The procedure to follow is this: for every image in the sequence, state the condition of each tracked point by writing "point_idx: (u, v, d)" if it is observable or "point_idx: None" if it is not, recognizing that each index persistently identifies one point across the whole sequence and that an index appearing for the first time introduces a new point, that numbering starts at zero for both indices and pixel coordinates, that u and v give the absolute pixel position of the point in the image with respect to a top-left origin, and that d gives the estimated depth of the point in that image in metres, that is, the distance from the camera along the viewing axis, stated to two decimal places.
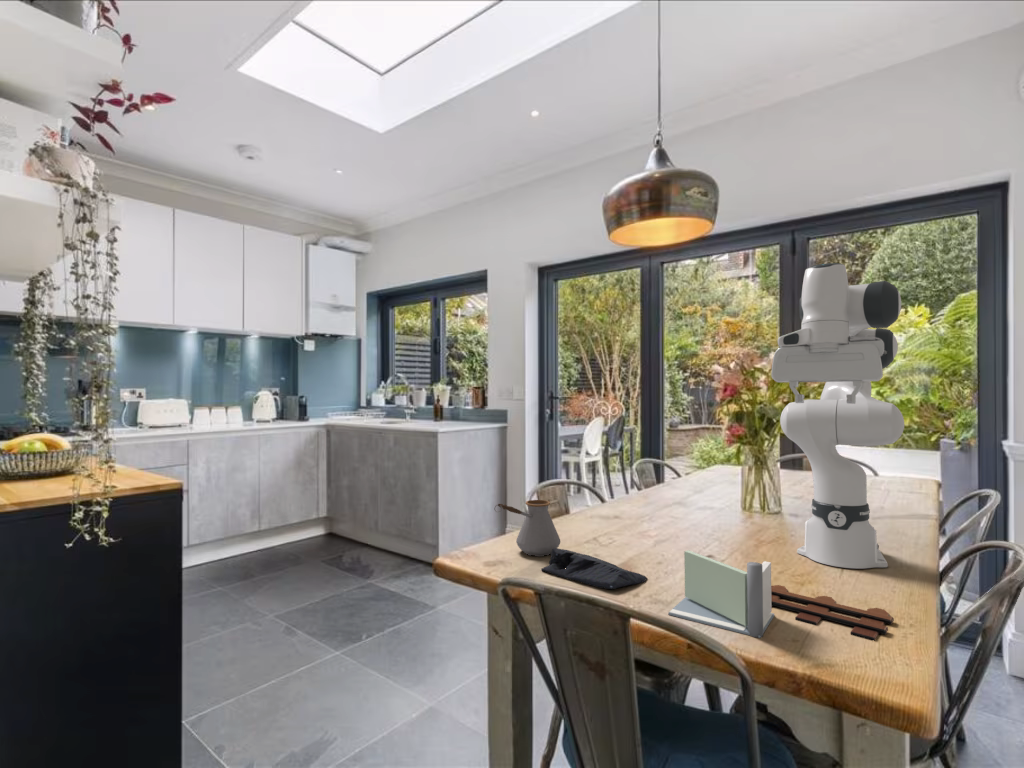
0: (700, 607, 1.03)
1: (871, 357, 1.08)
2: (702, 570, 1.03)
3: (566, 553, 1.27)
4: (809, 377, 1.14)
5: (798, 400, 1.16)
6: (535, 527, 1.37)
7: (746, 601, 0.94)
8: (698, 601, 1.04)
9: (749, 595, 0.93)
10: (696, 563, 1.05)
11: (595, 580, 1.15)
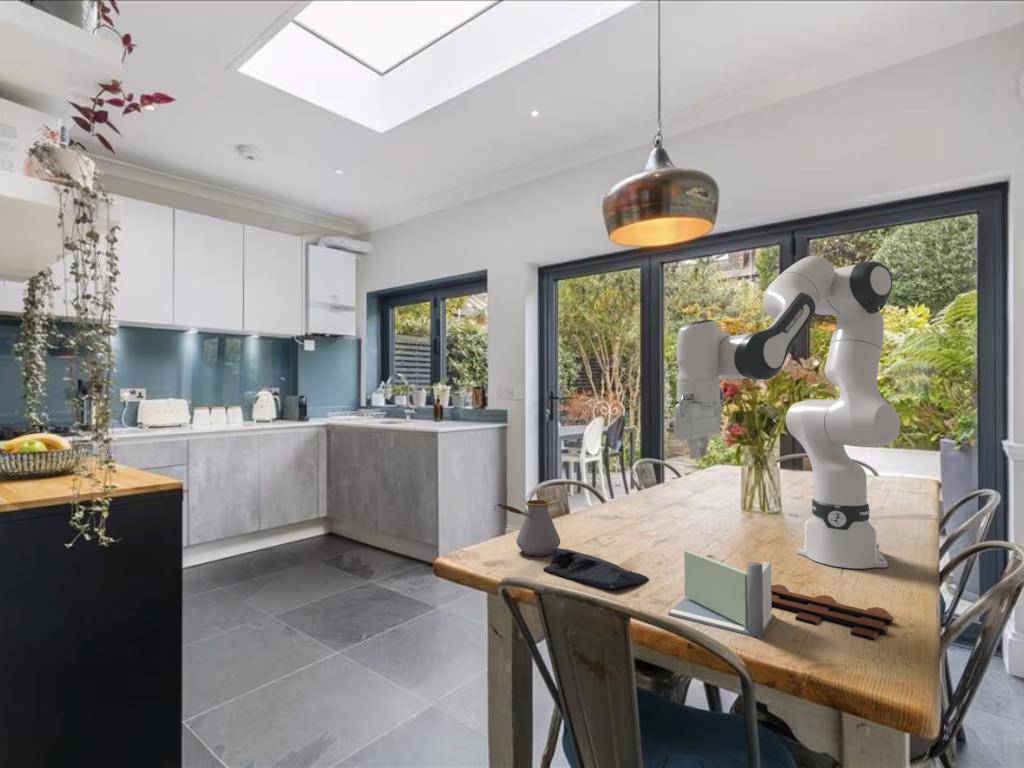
0: (700, 607, 1.03)
1: None
2: (702, 570, 1.03)
3: (568, 553, 1.27)
4: None
5: None
6: (535, 527, 1.37)
7: (746, 601, 0.94)
8: (698, 601, 1.04)
9: (749, 595, 0.93)
10: (696, 563, 1.05)
11: (596, 580, 1.15)
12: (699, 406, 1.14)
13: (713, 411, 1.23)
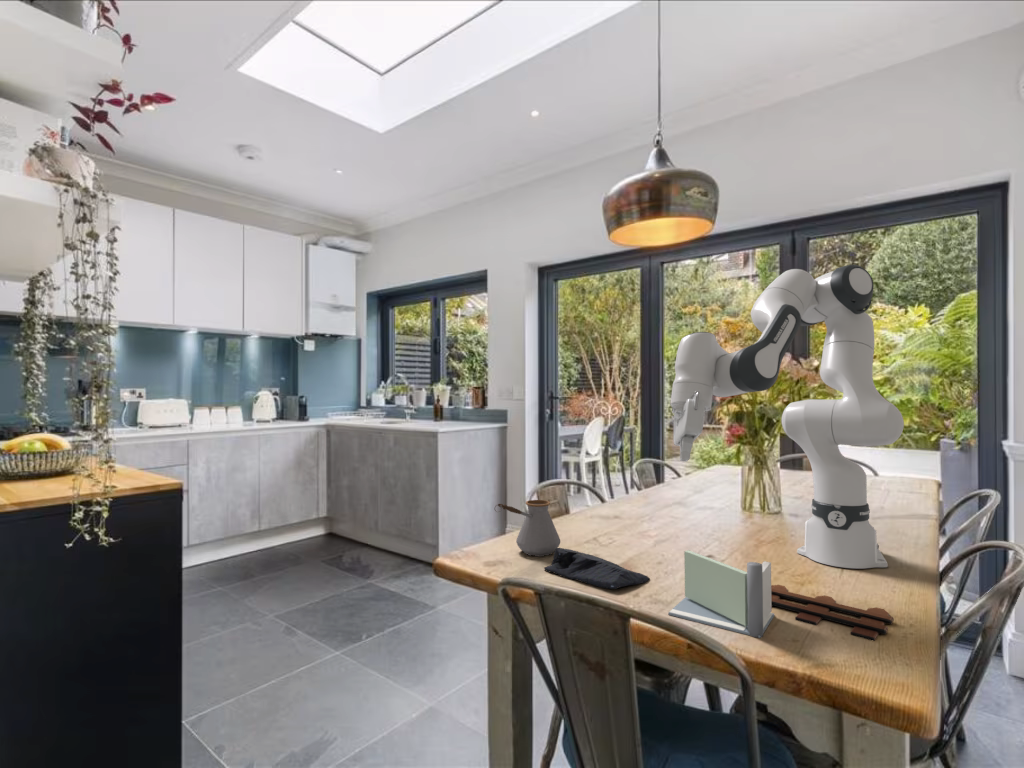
0: (700, 607, 1.03)
1: (685, 411, 1.14)
2: (702, 570, 1.03)
3: (569, 553, 1.27)
4: (677, 437, 1.24)
5: None
6: (535, 527, 1.37)
7: (746, 601, 0.94)
8: (698, 601, 1.04)
9: (749, 595, 0.93)
10: (696, 563, 1.05)
11: (597, 580, 1.15)
12: None
13: None
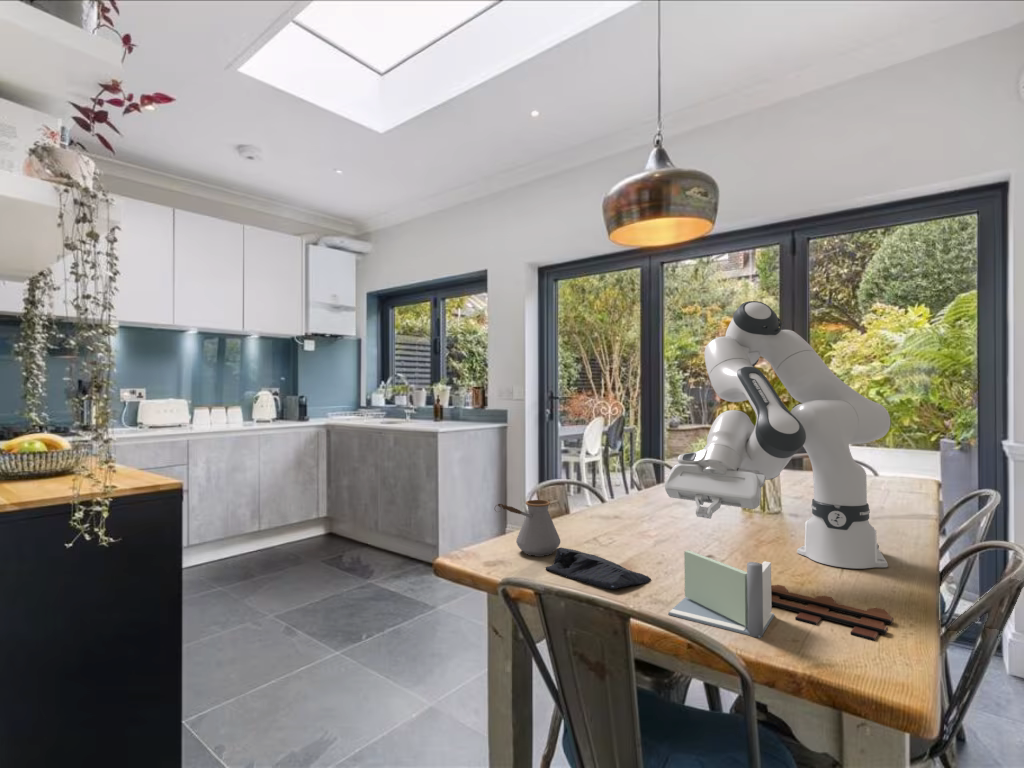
0: (700, 607, 1.03)
1: (751, 482, 1.16)
2: (702, 570, 1.03)
3: (570, 552, 1.27)
4: (695, 490, 1.20)
5: (698, 511, 1.17)
6: (535, 527, 1.37)
7: (746, 601, 0.94)
8: (698, 601, 1.04)
9: (749, 595, 0.93)
10: (696, 563, 1.05)
11: (597, 580, 1.15)
12: None
13: None
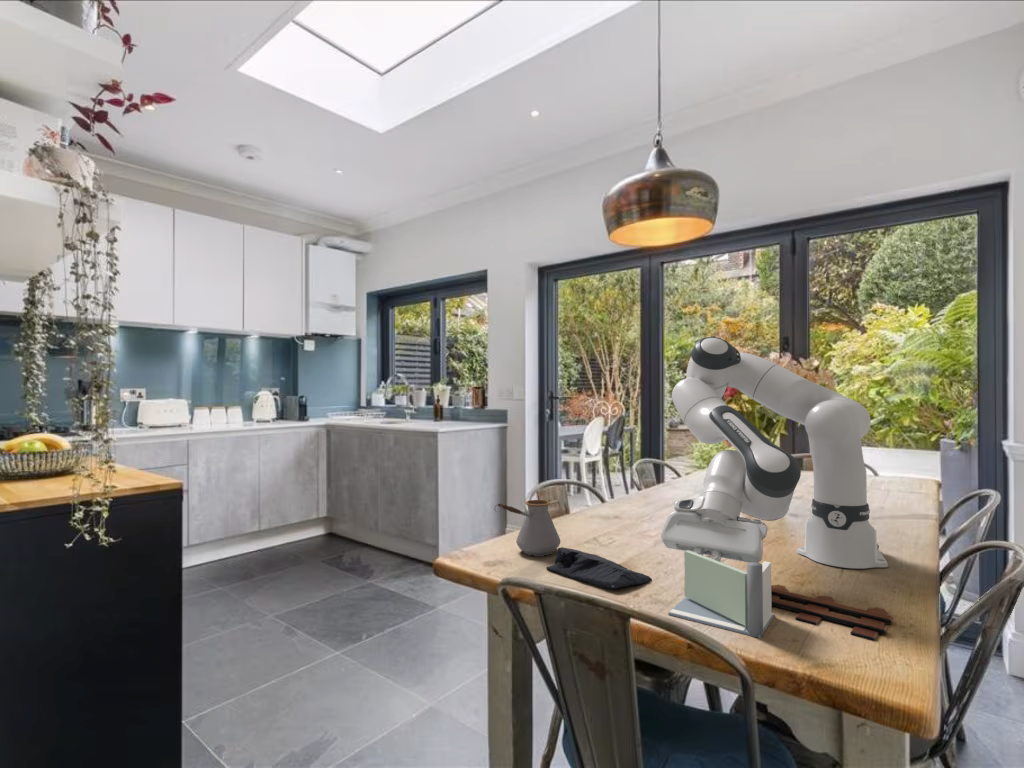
0: (700, 607, 1.03)
1: (752, 534, 1.09)
2: (702, 570, 1.03)
3: (571, 552, 1.27)
4: (694, 542, 1.14)
5: None
6: (535, 527, 1.37)
7: (746, 601, 0.94)
8: (698, 601, 1.04)
9: (749, 595, 0.93)
10: (696, 563, 1.05)
11: (598, 580, 1.15)
12: None
13: None
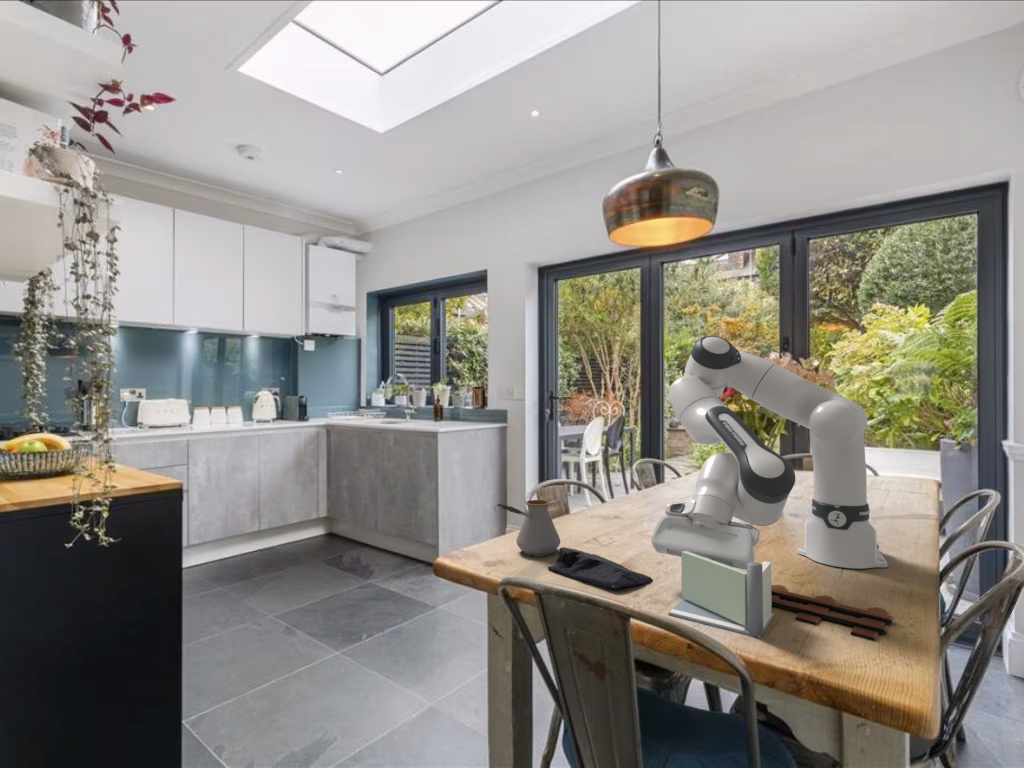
0: (700, 607, 1.03)
1: (744, 540, 1.07)
2: (700, 570, 1.03)
3: (573, 552, 1.27)
4: (684, 547, 1.11)
5: None
6: (535, 527, 1.37)
7: (746, 601, 0.94)
8: (696, 602, 1.04)
9: (749, 595, 0.93)
10: (693, 563, 1.05)
11: (598, 580, 1.15)
12: None
13: None
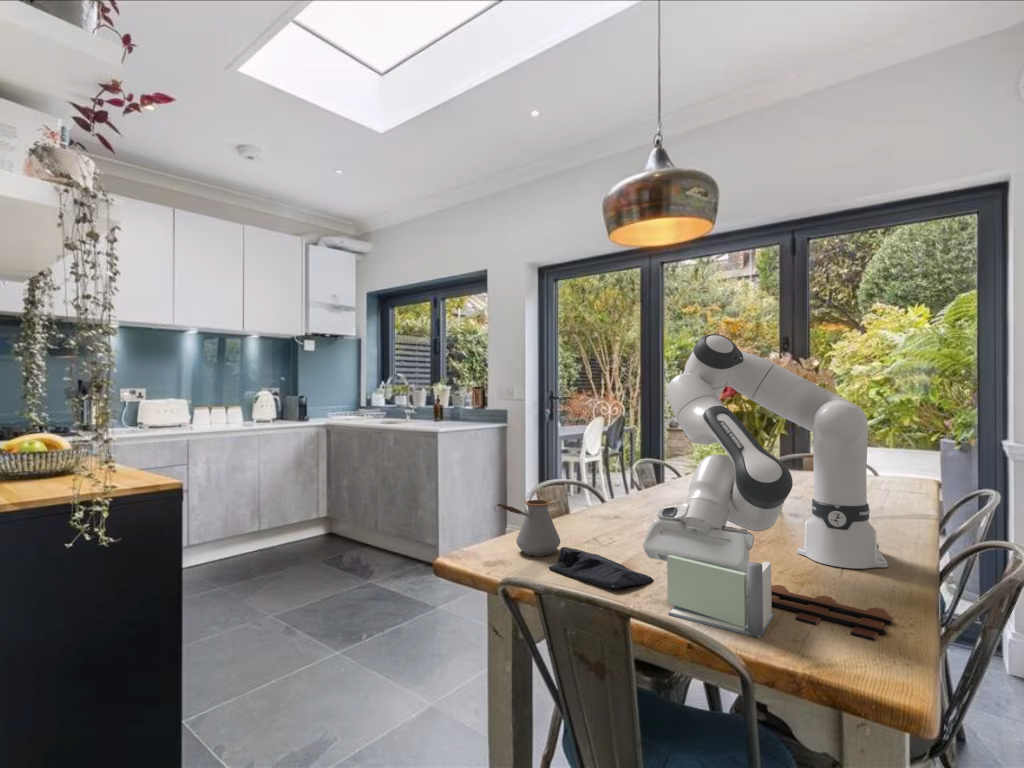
0: None
1: (738, 545, 1.03)
2: (690, 574, 1.01)
3: (573, 552, 1.27)
4: (676, 552, 1.08)
5: None
6: (535, 527, 1.37)
7: (745, 602, 0.94)
8: (685, 606, 1.02)
9: (749, 595, 0.93)
10: (682, 567, 1.02)
11: (599, 579, 1.15)
12: None
13: None
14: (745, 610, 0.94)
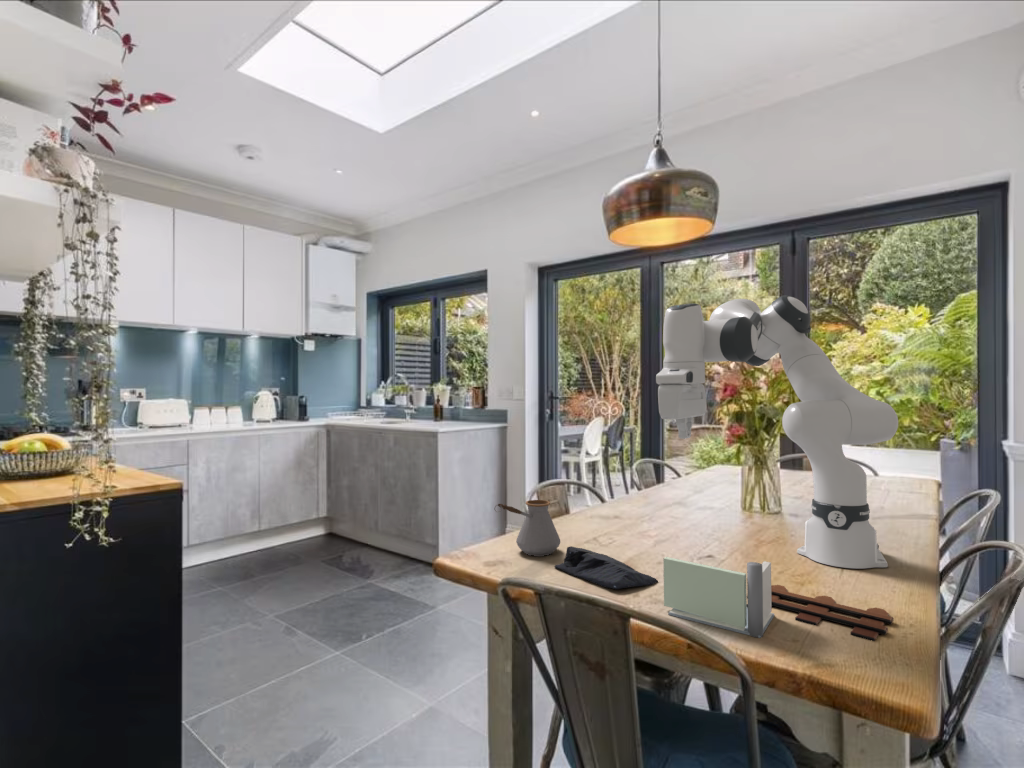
0: None
1: (704, 396, 1.26)
2: (688, 576, 1.00)
3: (579, 551, 1.28)
4: (688, 415, 1.18)
5: (687, 436, 1.19)
6: (535, 527, 1.37)
7: (745, 602, 0.94)
8: (682, 609, 1.01)
9: (749, 595, 0.93)
10: (679, 569, 1.01)
11: (601, 579, 1.16)
12: None
13: None
14: (745, 610, 0.94)
